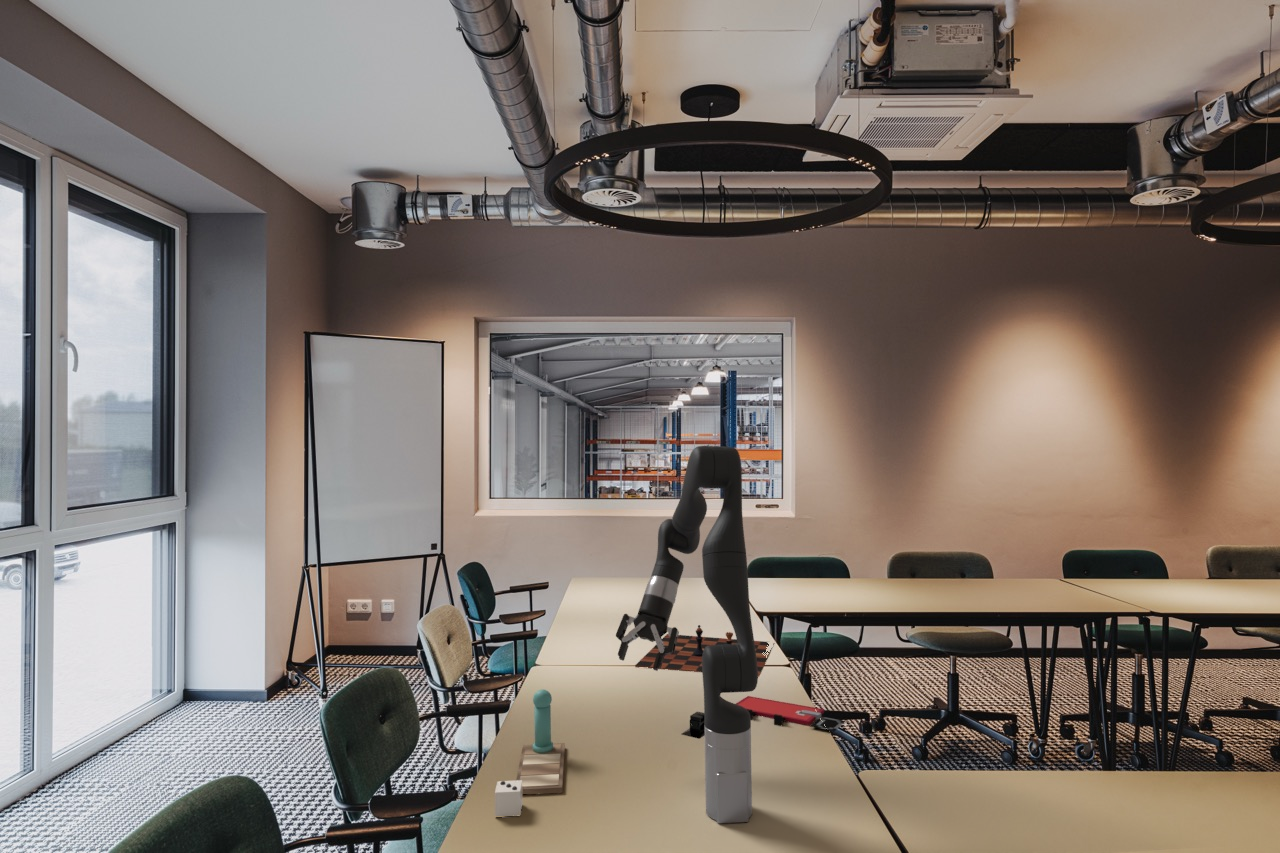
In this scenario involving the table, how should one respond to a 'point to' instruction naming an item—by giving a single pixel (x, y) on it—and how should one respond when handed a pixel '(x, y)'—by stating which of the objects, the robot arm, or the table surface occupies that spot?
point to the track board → (541, 770)
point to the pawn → (542, 722)
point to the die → (508, 798)
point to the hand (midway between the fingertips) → (638, 664)
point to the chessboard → (695, 652)
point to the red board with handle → (788, 713)
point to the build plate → (696, 726)
